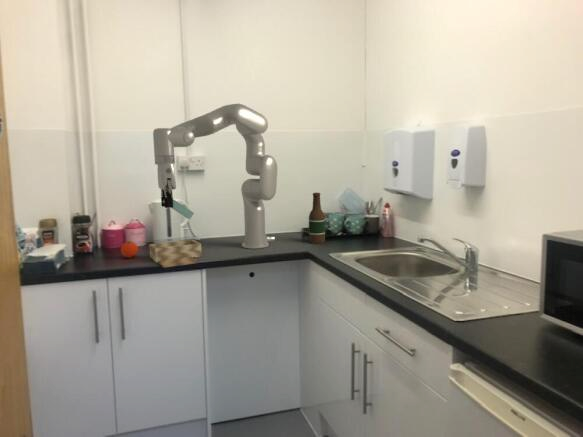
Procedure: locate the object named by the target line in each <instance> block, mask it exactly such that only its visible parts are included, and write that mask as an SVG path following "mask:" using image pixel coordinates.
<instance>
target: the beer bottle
mask: <svg viewBox="0 0 583 437" xmlns="http://www.w3.org/2000/svg"><path fill="white" fill-rule="evenodd" d="M325 241H326V216H325V213H324V212H323V210H322V205H321V193H320V192H313V193H312V209H311V211H310V212H309V215H308V242H309V243H310V244H314V245H315V244H317V245H319V244H324V243H325Z"/></svg>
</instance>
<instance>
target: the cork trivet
mask: <svg viewBox="0 0 583 437" xmlns="http://www.w3.org/2000/svg"><path fill="white" fill-rule="evenodd" d="M157 263H158V264H159V265H160V266H161V267H162V268H171V267H178V266H185V265H192V264H193V265H194V264H199V260H197V259H196V258H193V257H185V258H178V259H170V260H162V261H158V262H157Z"/></svg>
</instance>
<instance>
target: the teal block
mask: <svg viewBox="0 0 583 437" xmlns="http://www.w3.org/2000/svg"><path fill="white" fill-rule="evenodd" d="M163 203H164V200H163ZM171 209H172V210H173V211H175V212H177V213H178V214H180V215H181V216H182V217H184V218H186V219H188V220H190V219H192V217H193V215H195V213H194V211H191V209H189V208H187V207H186V206H184V205H182V204H181V203H179V202H178V201H177V200H175V199H173V207H172V208H171Z"/></svg>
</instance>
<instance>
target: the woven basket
mask: <svg viewBox="0 0 583 437" xmlns="http://www.w3.org/2000/svg"><path fill="white" fill-rule="evenodd" d="M148 246H149V258H150V259H152V260H153V261H154V262H155V263H158V261H162V260H170V259H178V258H185V257H195V258H201V256H202V257H203V254H202V243H200V242H199V241H197V240H195V239H186V240H179V241H178V240H177V241H169V242H159V243H158V242H157V243H151V244H149V245H148Z"/></svg>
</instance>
